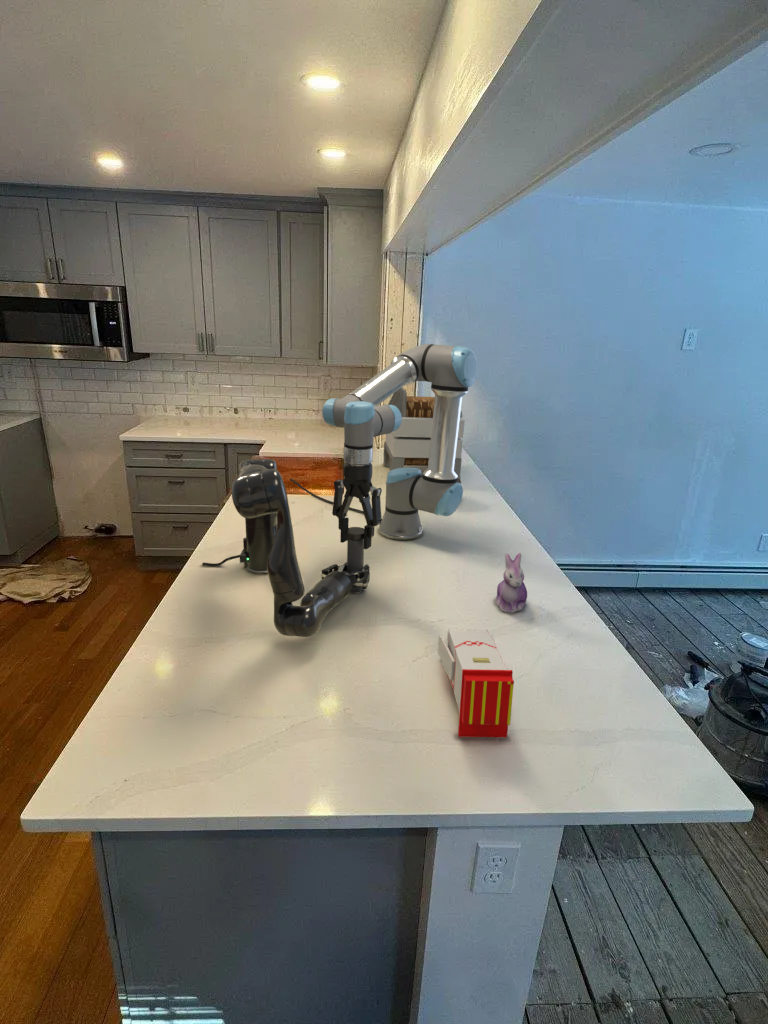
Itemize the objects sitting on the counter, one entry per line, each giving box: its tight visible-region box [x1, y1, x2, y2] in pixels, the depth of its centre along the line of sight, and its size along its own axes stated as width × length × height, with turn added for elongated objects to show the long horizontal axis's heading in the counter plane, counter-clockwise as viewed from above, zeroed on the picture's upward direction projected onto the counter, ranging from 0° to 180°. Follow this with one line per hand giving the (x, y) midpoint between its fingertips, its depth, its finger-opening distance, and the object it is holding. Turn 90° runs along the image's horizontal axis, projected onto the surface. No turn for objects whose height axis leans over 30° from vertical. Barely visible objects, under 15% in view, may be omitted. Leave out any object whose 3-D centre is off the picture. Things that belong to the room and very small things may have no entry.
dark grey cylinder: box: [346, 538, 365, 594], centre depth 156 cm, size 5×5×17 cm
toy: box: [437, 628, 515, 738], centre depth 117 cm, size 12×13×30 cm
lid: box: [346, 526, 364, 540], centre depth 154 cm, size 6×6×2 cm
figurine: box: [495, 552, 528, 614], centre depth 152 cm, size 9×10×15 cm
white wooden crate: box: [383, 387, 465, 479], centre depth 268 cm, size 34×33×41 cm
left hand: (358, 565), depth 160 cm, fingers closed on dark grey cylinder, 4 cm apart
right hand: (355, 544), depth 155 cm, fingers open, 7 cm apart
